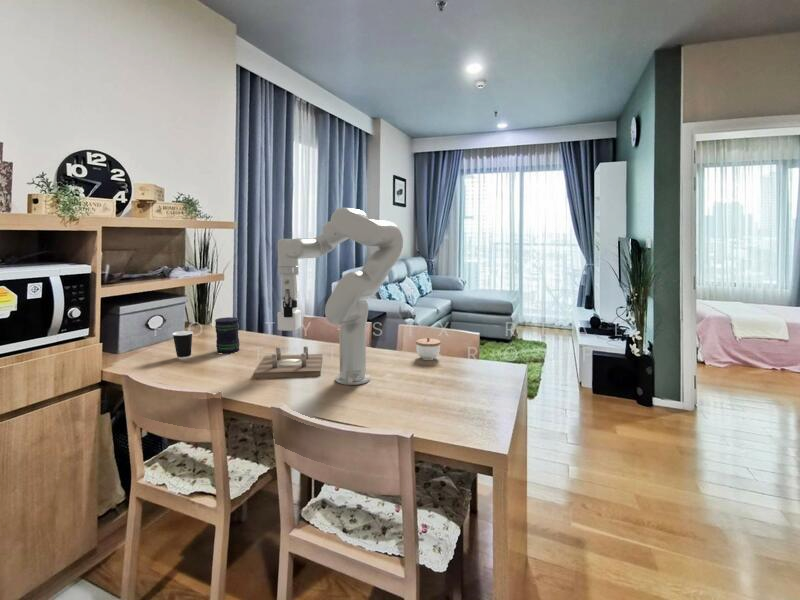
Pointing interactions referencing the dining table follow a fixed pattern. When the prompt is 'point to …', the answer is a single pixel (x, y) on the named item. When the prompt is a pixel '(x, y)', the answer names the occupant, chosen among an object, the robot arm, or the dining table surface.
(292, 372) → the peg board
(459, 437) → the dining table surface
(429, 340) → the lidded jar
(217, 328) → the storage jar
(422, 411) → the dining table surface
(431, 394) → the dining table surface
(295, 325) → the medicine bottle
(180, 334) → the dixie cup
